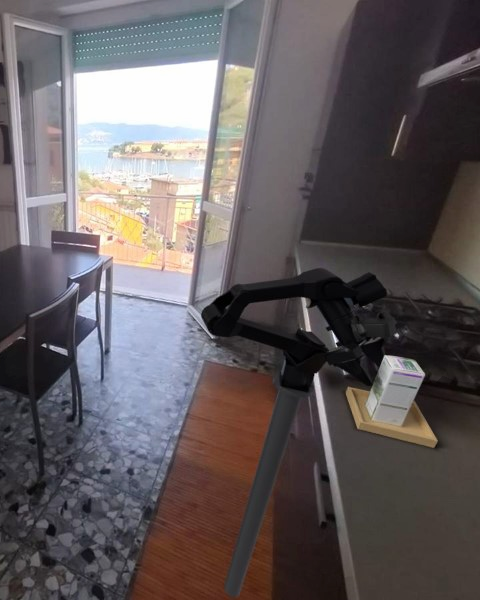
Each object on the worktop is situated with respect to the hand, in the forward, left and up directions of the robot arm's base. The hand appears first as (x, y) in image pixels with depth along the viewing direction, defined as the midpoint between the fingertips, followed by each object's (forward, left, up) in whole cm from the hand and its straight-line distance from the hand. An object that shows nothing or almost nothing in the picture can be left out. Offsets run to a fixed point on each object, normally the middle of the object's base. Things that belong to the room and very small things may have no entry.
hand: (379, 378), depth 80 cm
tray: (+3, -2, -9) cm, 10 cm away
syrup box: (+2, -2, -9) cm, 9 cm away
